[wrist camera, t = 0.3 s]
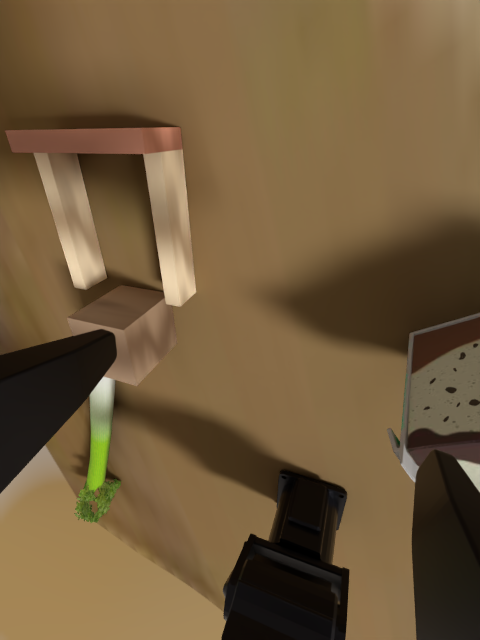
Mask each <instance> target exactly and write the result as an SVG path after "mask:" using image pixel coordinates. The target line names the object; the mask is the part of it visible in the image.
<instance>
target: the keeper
mask: <svg viewBox="0 0 480 640" xmlns="http://www.w3.org/2000/svg"><path fill="white" fill-rule="evenodd" d="M67 319H68V322H69V325H70V328H71V331H72V334H73V336H75V335H79V334H83V333H87V332H90V331H94V330H98V329H105V330H107V331H110V332H113V333H114V335H115V338H116V347H117V357H116V360H115V362H114V363H113V364H112V366H111V367H110V368H109V370H108V371H107V372H106V374H105V375H104V376H103V377H107V378H110V379H114V380H118V381H121V382H125V383H128V384H132V385H135V386H137V385H138V384H139V383H140V382H141V381H142V380H143V379H144V378H145V377H146V376H147V375H148V374H149V373H150V372H151V371H152V369H153V368H154V367H155V366H156V365H157V364H158V363H159V362H160V361H161V360H162V359H163V358H164V357H165V356H166V355H167V354H168V353H169V351H170V350H171V349H172V348H173V347H174V346H175V345H176V344H177V337H176V330H175V323H174V316H173V309H172V305H168V304H166V301H165V295H164V292H160V291H154V290H148V289H142V288H136V287H130V286H124V285H120V286H118V287H116V288H115V289H113V290H112V291H110V292H108V293H107V294H105V295H103V296H102V297H100V298H98V299H97V300H95V301H93V302H92V303H90V304H89V305H87V306H85V307H84V308H82V309H80V310H79V311H77V312H75V313H74V314H72V315H71V316H69V317H67Z"/></svg>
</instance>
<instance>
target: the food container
mask: <svg viewBox="0 0 480 640" xmlns="http://www.w3.org/2000/svg"><path fill="white" fill-rule="evenodd" d="M387 431H388V434H389V438H390V441H391V445H392V448H393V451H394V453H395V454H396V456H397V457H398V459H399V460H400V464H401V465H402V467H403V468H404V469H405V471H406V472H407V474H408V475H409V476H410V478H411V479H412V480H413V481H414V482H415V480H416V473H417V470H418V468H419V467H420V465H421V464H422V463H423V461H424V460H425V458H426V457H427V456H428V454H429V453H430V452H431V451H432V450H434V449H437V450H440V451H443V452H445V453H448V454H451V455H452V456H454V457H455V458H456V460H457V461H458V462H459V464H460V465H461V467H462V468H463V469H464V471H465V472H466V474H467V475H468V476H469V478H470V479H471V481H472V482H473V483H474V485H475V486H476V488H477V489H478V490H479V492H480V313H477V314H474V315H470V316H467V317H464V318H460V319H457V320H453V321H450V322H446V323H443V324H439V325H436V326H432V327H429V328H426V329H422V330H419V331H415V332H412V333H410V334H409V346H408V358H407V369H406V381H405V393H404V404H403V416H402V428H401V439H400V441H399V440H398V438H397V437H396V435H395V434H394V433H393V431H392V430H391V428H389V429H387Z"/></svg>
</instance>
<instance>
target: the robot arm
mask: <svg viewBox="0 0 480 640" xmlns="http://www.w3.org/2000/svg"><path fill="white" fill-rule="evenodd" d="M116 357H117V347H116V338H115V335H114V333H113V332H110V331H107V330H105V329H98V330H94V331H90V332H87V333H83V334H79V335H75V336H71V337H68V338H64V339H60V340H56V341H52V342H49V343H45V344H41V345H37V346H33V347H30V348H26V349H22V350H18V351H14V352H11V353H7V354H3V355H0V493H1V492H2V491H3V490H4V489H5V488H6V487H7V486H8V485H9V484H10V483H11V481H12V480H13V479H14V478H15V477H16V476H17V475H18V474H19V473H20V472H21V470H22V469H23V468H24V467H25V466H26V465H27V464H28V463H29V461H31V459H32V458H33V457H34V456H35V455H36V454H37V453H38V452H39V451H40V450H41V449H42V447H43V446H44V445H45V444H46V443H47V442H48V441H49V440H50V439H51V438H52V437H53V435H54V434H55V433H56V432H57V431H58V430H59V429H60V428H61V427H62V426H63V425H64V423H65V422H66V421H67V420H68V419H69V418H70V417H71V416H72V415H73V414H74V413H75V411H76V410H77V409H78V408H79V407H80V406H81V405H82V404H83V402H84V401H85V400H86V399H87V398H88V396H89V395H90V394H91V393H92V391H93V390H94V389H95V387H96V386H97V384H98V383H99V382H100V380H101V379H102V378H103V376H104V375H105V374H106V372H107V371H108V370H109V368H110V367H111V366H112V364H113V363H114V362H115V360H116ZM346 499H347V492H346V491H345V490H343V489H340V488H337V487H334V486H331V485H328V484H325V483H322V482H318V481H315V480H312V479H309V478H306V477H303V476H300V475H297V474H294V473H291V472H287V471H284V470H282V471H280V474H279V483H278V497H277V511H276V515H275V518H274V522H273V526H272V529H271V533H270V536H269V540H268V541H267V540H264V539H261V538H259V537H256V535H254V534H250V536H249V538H248V541H246V542H245V543H244V546H243V549H242V551H241V553H240V556H239V558H238V560H237V563H236V565H235V567H234V569H233V571H232V572H231V574H230V576H229V578H228V579H227V581H226V583H225V585H224V588H223V593H224V596H225V606H224V619H225V620H226V624H225V628H224V631H223V634H222V640H345V636H346V623H347V605H348V586H349V569H346V568H344V567H343V568H340V567H337V566H335V565H332V561H333V553H334V544H335V536H336V530H338V529H339V525H340V521H341V518H342V514H343V510H344V506H345V503H346ZM412 560H413V579H414V598H415V617H416V636H417V640H480V492H479V490H478V489H477V488H476V486H475V485H474V483H473V482H472V481H471V479H470V478H469V476H468V475H467V474H466V472H465V471H464V469H463V468H462V467H461V465H460V464H459V462H458V461H457V460H456V458H455V457H454V456H452V455H451V454H448V453H445V452H443V451H440V450H437V449H434V450H432V451H431V452H430V453H429V454H428V456H427V457H426V458H425V460H424V461H423V463H422V464H421V465H420V467H419V468H418V470H417V473H416V480H415V495H414V511H413V526H412Z"/></svg>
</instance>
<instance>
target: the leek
mask: <svg viewBox="0 0 480 640" xmlns="http://www.w3.org/2000/svg"><path fill="white" fill-rule="evenodd" d="M114 392H115V380H114V379H110V378H107V377H103V378H102V379H101V380H100V382H99V383H98V384H97V386H96V387H95V389H94V390H93V391H92V393H91V394H90V395H89V396H90V420H91V445H90V462H89V469H88V475H87V481H86V483H85V486H84V488H83V489H84V490H80V494H79V495H78V496H80V498H81V497H82V498H81V499H79V498H77V499H78V500H79V501H80V503H78V502H77V507H76V509H75V510H76V511H78V512H77V513H78V514H79V511H81V512H82V513H80V515H81V516H80V515H77V513H75V515H76V516H77V517H78V518H81V519H84V521H85V520H86V521H88V522H89V520H90V522H91V523H92V522H98V521H99V518H100V517H102V516H101V515H104V513H106V512H107V511H108V510H109V509H110V508H108V507H109V505H110V502H111V501H112V498H113V497H114V494H115V493H116V489H118V488H119V486H120V485H121V483H119V482H121V481H119V482H118V480H117V479H114V481H115V482H114V481H113V482H114V483H112V482H111V483H110V481H108V482H105V477H106V470H107V463H108V455H109V448H110V440H111V433H112V419H113V406H114ZM107 483H108V484H107ZM109 483H110V484H109ZM116 483H118V484H116ZM97 488H98V490H99V492H100V494H98V496H99V497H98V498H97V497H96V496H95V495H94V492H95V491H96V489H97ZM93 497H94V498H93ZM95 497H96V498H95ZM89 500H90V501H92V500H93V501H95V502H97V504H98V505H97V508H98V511H97V512H96V513H95V514H94V512H92V511H91V510H92V508H91V507H92V505H89ZM87 502H88V503H87ZM89 506H90V507H89ZM107 509H108V510H107ZM82 514H83V515H82ZM90 515H91V516H90ZM94 515H95V516H94ZM91 517H92V518H91ZM88 519H89V520H88ZM97 519H98V520H97Z"/></svg>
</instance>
